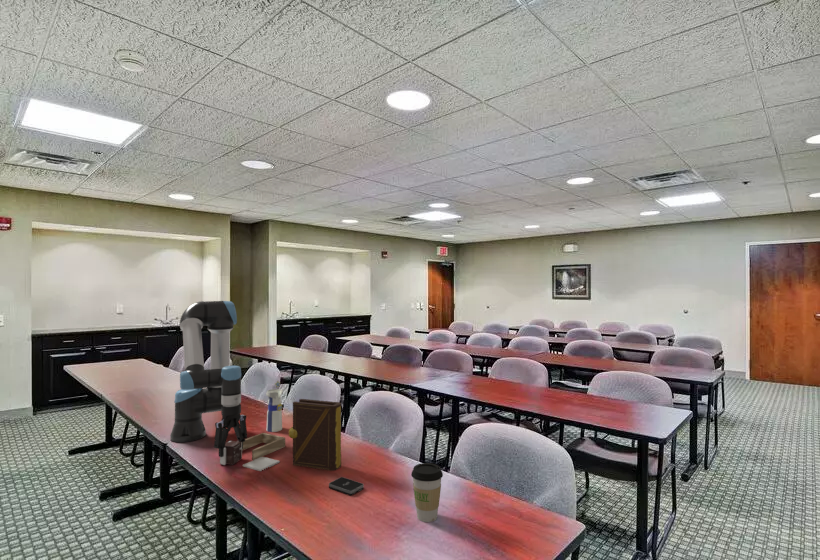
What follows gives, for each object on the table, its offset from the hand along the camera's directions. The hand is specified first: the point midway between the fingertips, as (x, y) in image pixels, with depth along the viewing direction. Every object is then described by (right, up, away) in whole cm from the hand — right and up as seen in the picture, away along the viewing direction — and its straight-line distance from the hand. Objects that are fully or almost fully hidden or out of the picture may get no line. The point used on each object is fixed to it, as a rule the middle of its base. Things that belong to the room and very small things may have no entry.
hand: (231, 460), depth 182 cm
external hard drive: (+50, -1, -24) cm, 56 cm away
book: (+35, -1, -3) cm, 35 cm away
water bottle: (+5, -1, +42) cm, 42 cm away
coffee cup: (+78, 0, -44) cm, 90 cm away
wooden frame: (+7, -1, +12) cm, 14 cm away
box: (0, -1, 0) cm, 1 cm away
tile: (+13, 0, -3) cm, 14 cm away
